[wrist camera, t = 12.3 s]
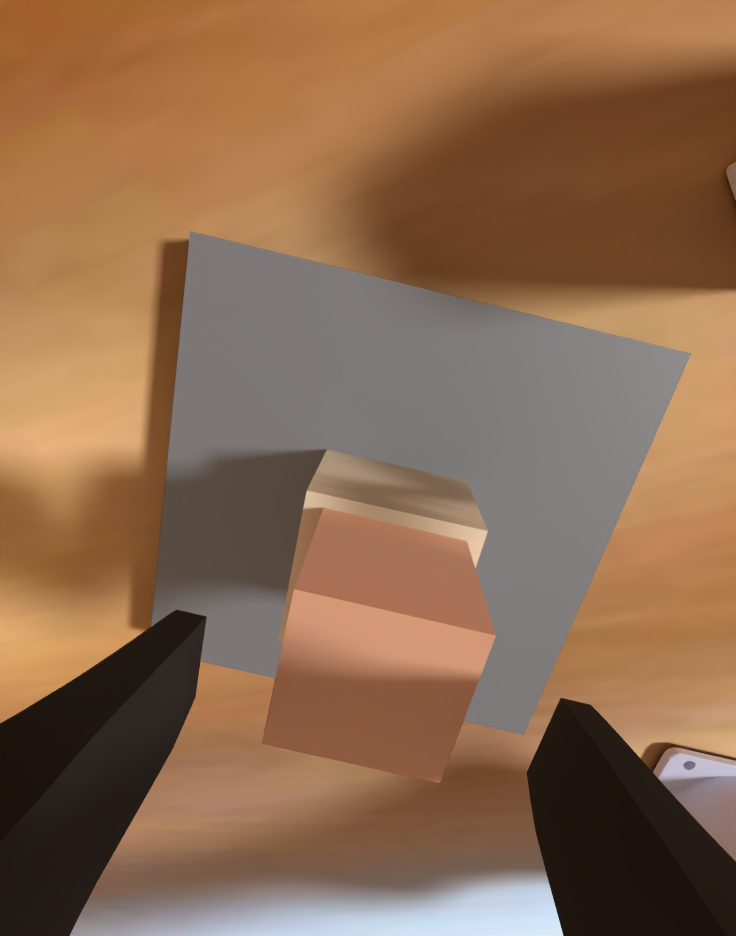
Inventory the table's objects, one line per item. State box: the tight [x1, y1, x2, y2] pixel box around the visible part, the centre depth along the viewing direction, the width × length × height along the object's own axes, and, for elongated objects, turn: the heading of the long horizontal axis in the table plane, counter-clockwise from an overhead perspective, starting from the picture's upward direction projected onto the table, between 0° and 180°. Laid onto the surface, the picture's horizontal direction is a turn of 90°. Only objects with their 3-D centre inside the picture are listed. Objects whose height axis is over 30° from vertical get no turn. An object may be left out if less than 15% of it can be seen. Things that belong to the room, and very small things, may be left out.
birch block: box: [278, 449, 488, 642], centre depth 16 cm, size 5×5×4 cm
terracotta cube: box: [262, 508, 496, 783], centre depth 12 cm, size 4×4×4 cm
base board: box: [151, 231, 691, 735], centre depth 18 cm, size 16×16×2 cm
